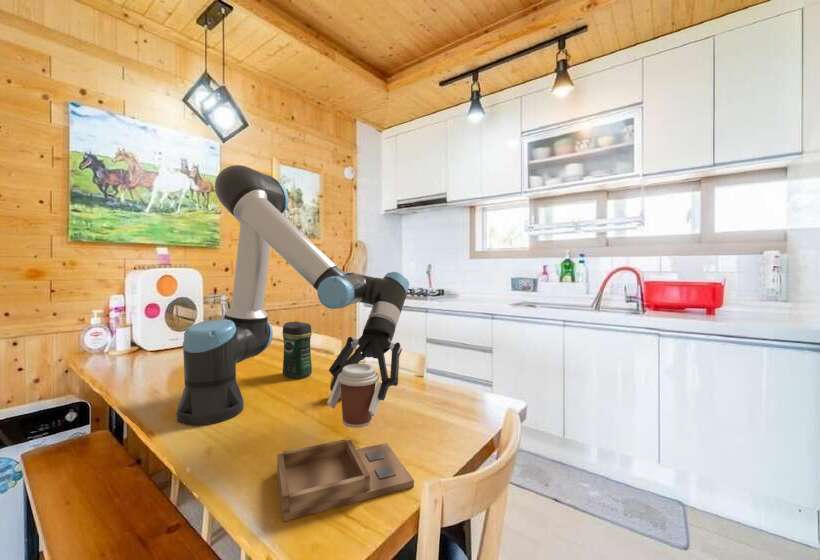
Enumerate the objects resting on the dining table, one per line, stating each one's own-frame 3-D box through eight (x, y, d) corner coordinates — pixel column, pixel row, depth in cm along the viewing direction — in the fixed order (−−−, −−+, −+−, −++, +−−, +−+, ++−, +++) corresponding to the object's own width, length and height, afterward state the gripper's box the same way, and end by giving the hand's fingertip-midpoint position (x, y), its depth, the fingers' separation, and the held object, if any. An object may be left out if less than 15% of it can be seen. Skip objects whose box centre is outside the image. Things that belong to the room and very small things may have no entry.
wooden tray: (283, 522, 54) (283, 498, 54) (277, 471, 67) (277, 452, 67) (413, 486, 63) (414, 466, 63) (386, 448, 76) (386, 431, 76)
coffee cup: (338, 412, 83) (339, 361, 83) (377, 411, 84) (379, 362, 84) (333, 431, 74) (335, 374, 74) (377, 430, 75) (379, 374, 75)
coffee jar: (315, 374, 124) (315, 321, 123) (297, 381, 117) (297, 325, 116) (297, 369, 129) (296, 319, 128) (278, 375, 123) (278, 322, 121)
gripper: (425, 336, 90) (402, 425, 75) (347, 328, 96) (313, 408, 82) (420, 318, 84) (394, 410, 70) (338, 311, 91) (300, 394, 77)
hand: (350, 409), depth 76 cm, fingers closed on coffee cup, 9 cm apart
